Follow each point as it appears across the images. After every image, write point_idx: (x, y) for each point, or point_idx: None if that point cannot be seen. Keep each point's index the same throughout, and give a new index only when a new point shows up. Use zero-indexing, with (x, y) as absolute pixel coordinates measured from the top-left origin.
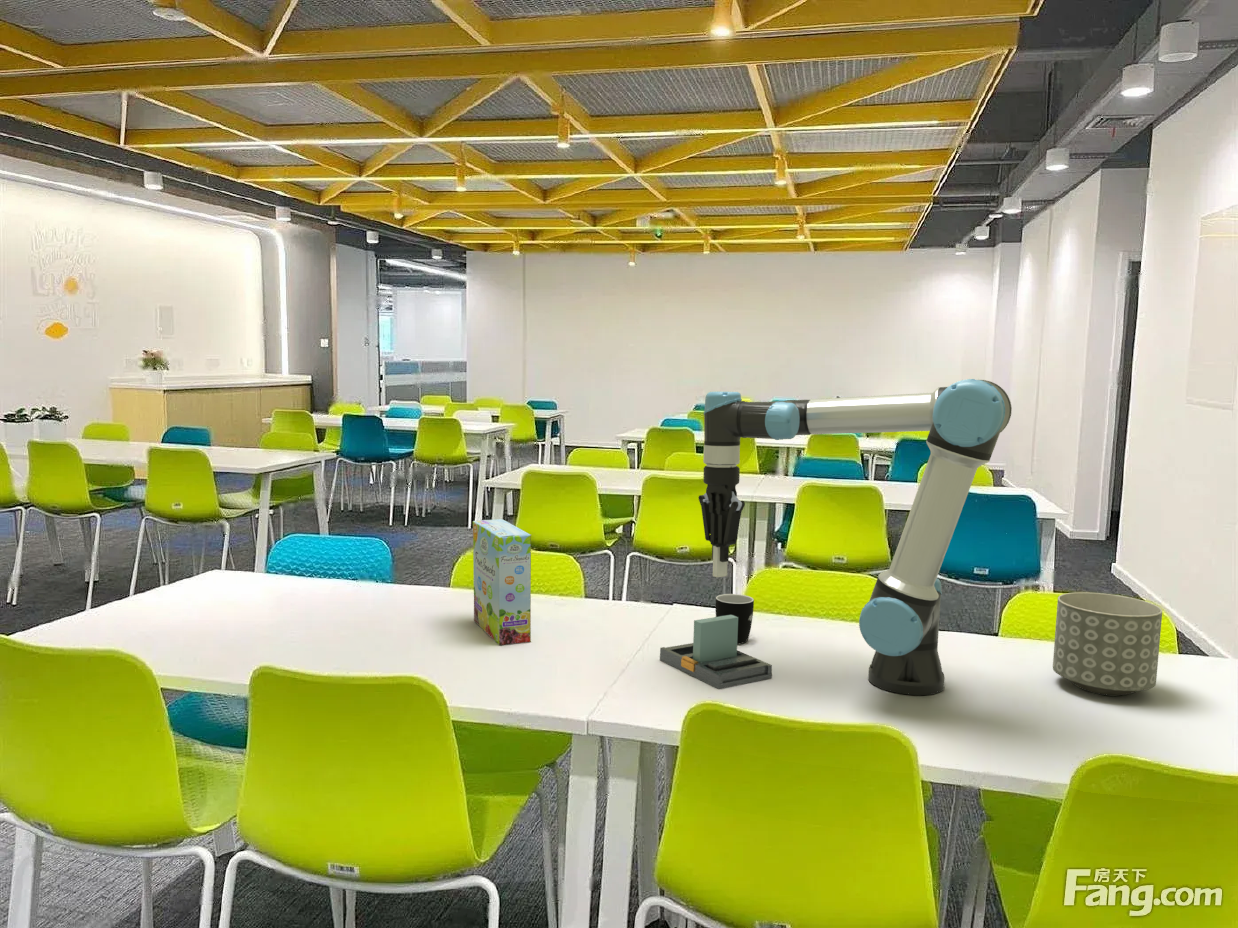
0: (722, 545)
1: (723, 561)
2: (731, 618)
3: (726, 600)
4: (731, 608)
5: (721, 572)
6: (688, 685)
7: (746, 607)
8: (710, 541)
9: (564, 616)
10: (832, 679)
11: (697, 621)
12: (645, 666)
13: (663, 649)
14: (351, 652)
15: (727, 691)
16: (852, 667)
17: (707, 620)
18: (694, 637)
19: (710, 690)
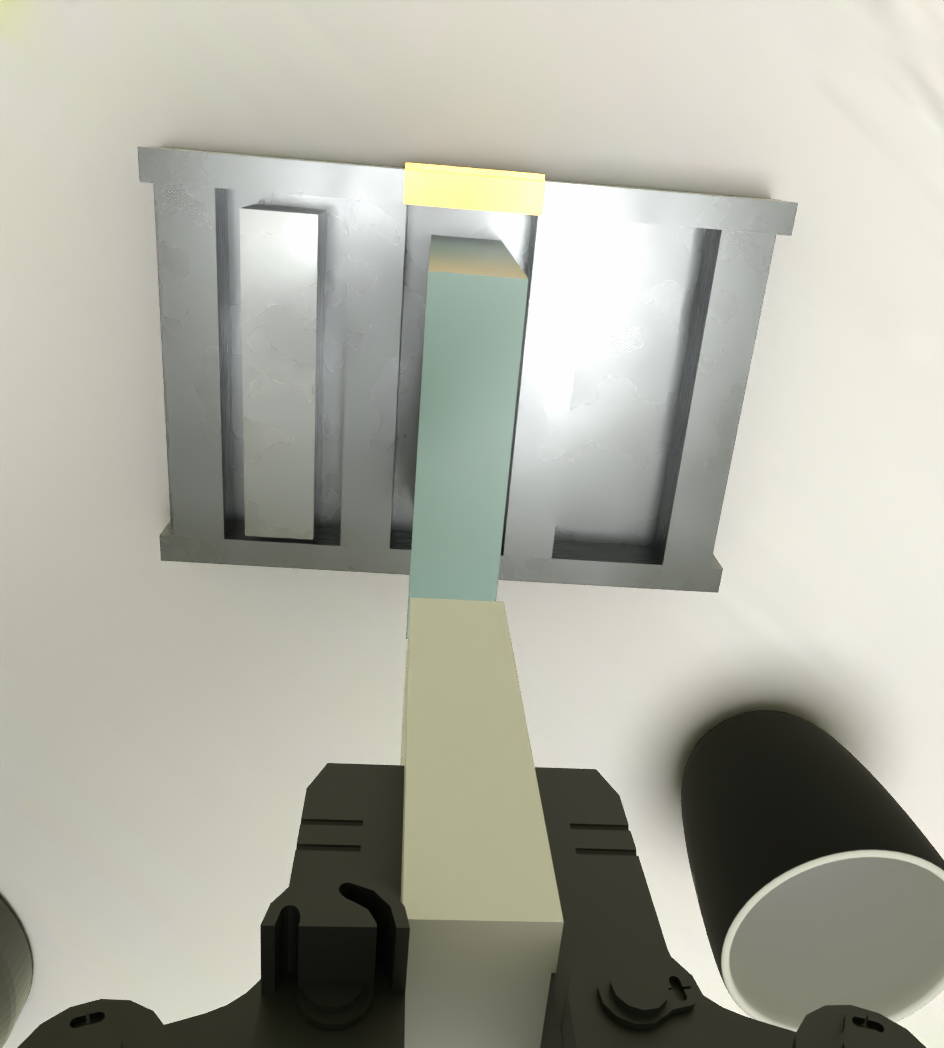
0: (270, 994)
1: (319, 779)
2: (410, 579)
3: (930, 935)
4: (771, 845)
5: (405, 692)
6: (302, 23)
7: (713, 918)
8: (691, 998)
9: None
10: (37, 751)
11: (485, 281)
12: (737, 24)
13: (760, 200)
14: None
15: (106, 168)
16: (137, 921)
17: (464, 379)
18: (504, 261)
19: (165, 86)
